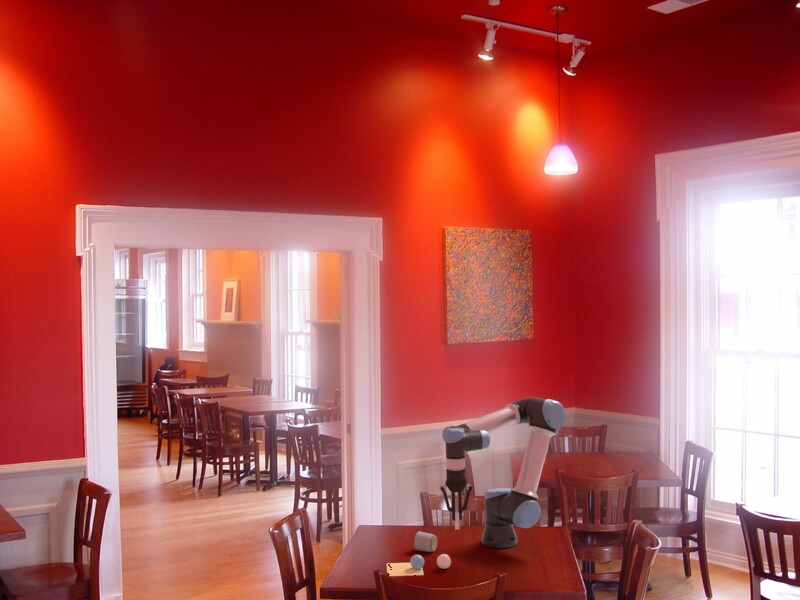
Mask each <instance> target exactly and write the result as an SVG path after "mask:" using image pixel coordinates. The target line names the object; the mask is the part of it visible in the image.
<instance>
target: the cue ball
mask: <svg viewBox="0 0 800 600" xmlns="http://www.w3.org/2000/svg"><path fill="white" fill-rule="evenodd" d="M436 564H437V566H438V568H440V569H444V570H445V569H448V568H449V567H450V566H451V564H452V560H451V557H450V556H449V555H448V554H446V553H442V554H440V555H438V556H437V559H436Z"/></svg>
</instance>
